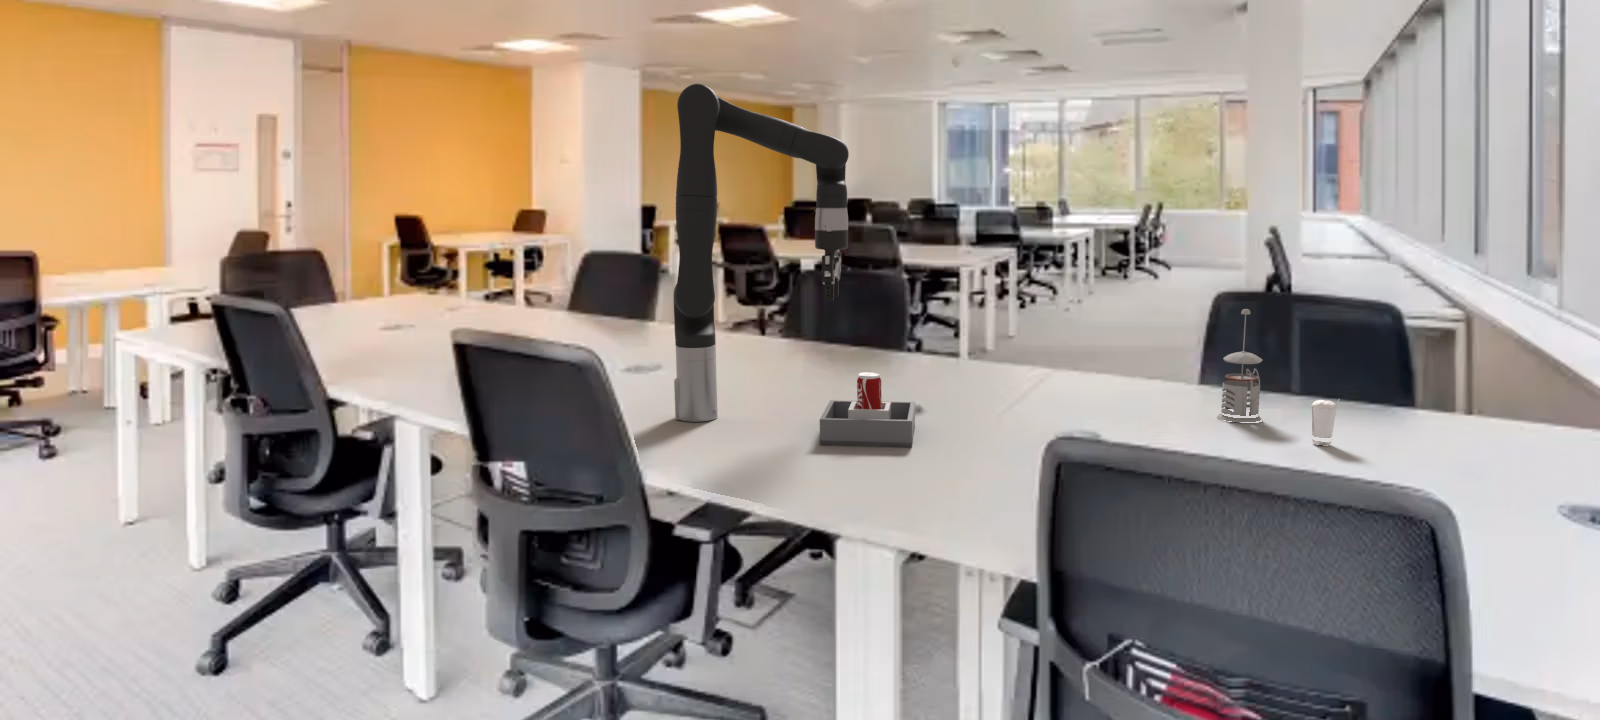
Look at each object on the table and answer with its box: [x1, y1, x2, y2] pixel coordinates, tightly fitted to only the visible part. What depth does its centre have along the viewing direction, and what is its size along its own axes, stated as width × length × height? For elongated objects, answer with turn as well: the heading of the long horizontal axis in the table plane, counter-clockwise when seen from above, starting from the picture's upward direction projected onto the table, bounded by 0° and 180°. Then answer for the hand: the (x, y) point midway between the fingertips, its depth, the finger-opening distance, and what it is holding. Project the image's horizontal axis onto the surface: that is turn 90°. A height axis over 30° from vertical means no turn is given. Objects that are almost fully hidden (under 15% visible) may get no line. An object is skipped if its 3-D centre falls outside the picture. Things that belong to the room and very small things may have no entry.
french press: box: [1216, 308, 1263, 422], centre depth 229 cm, size 10×12×25 cm
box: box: [819, 399, 916, 448], centre depth 221 cm, size 19×19×6 cm
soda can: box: [856, 371, 883, 409], centre depth 222 cm, size 5×5×12 cm
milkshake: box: [1311, 398, 1341, 446], centre depth 207 cm, size 4×5×10 cm
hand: (831, 298), depth 237 cm, fingers open, 8 cm apart
